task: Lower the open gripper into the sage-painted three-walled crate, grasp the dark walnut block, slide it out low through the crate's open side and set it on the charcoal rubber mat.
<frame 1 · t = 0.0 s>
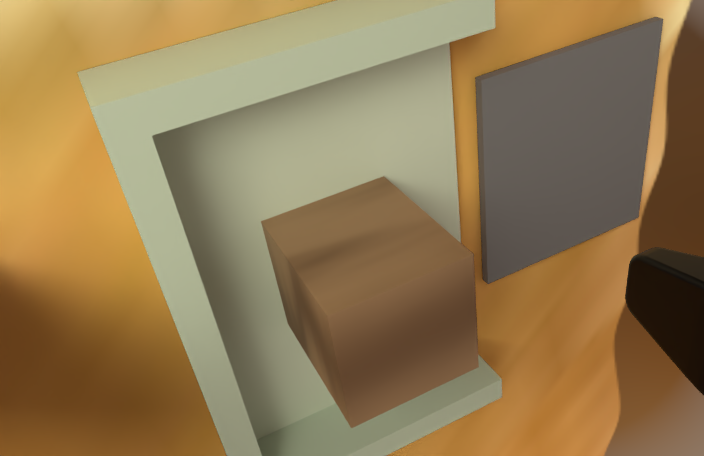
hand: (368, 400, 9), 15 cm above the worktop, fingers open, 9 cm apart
walnut block: (334, 251, 26), resting on crate
mat: (564, 155, 29), on the worktop
crate: (318, 251, 26), on the worktop
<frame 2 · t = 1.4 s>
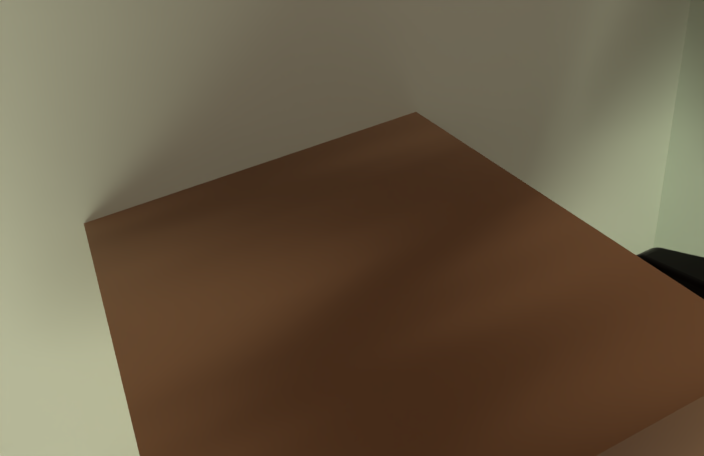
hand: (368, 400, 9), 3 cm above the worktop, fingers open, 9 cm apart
walnut block: (294, 297, 11), resting on crate
crate: (291, 307, 11), on the worktop
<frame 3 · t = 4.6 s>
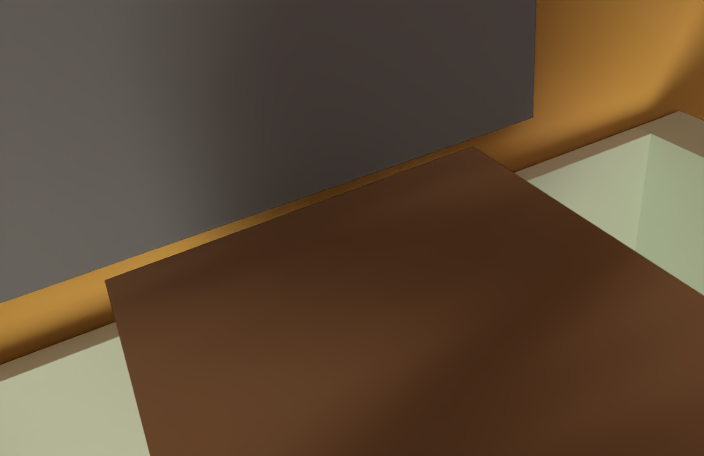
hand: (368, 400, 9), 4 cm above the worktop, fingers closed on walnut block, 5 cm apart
walnut block: (334, 350, 10), point 2 cm above the worktop, touching gripper
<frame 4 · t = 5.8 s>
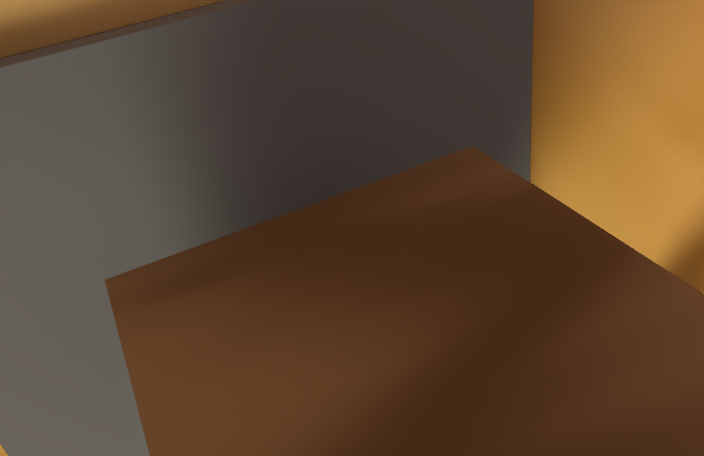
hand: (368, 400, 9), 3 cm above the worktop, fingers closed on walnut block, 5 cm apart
walnut block: (334, 349, 10), point 2 cm above the worktop, touching gripper
mat: (278, 265, 11), on the worktop
when the fingers open (3 cm above the worktop, at t = 6.8 s): walnut block drops 1 cm, resting on mat.
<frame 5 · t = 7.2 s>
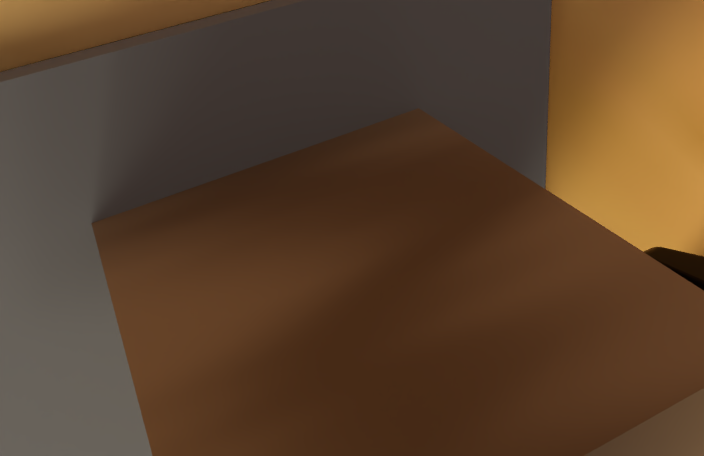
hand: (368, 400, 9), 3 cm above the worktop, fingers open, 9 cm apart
walnut block: (300, 294, 11), resting on mat
mat: (287, 280, 11), on the worktop
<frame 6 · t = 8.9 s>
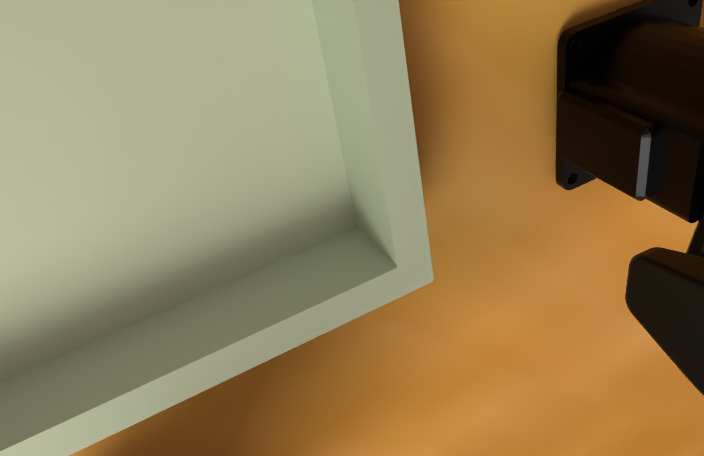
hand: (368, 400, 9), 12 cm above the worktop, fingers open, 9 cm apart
crate: (63, 190, 18), on the worktop
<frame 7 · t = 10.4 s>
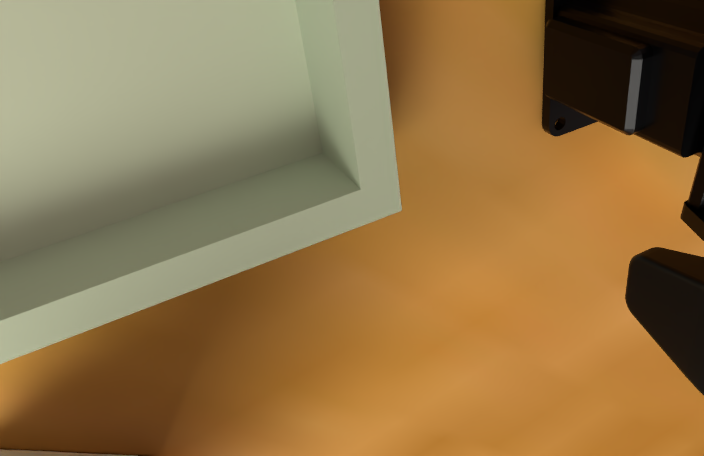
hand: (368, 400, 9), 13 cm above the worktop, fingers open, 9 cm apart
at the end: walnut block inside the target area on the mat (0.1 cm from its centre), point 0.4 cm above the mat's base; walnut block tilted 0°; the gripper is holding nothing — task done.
